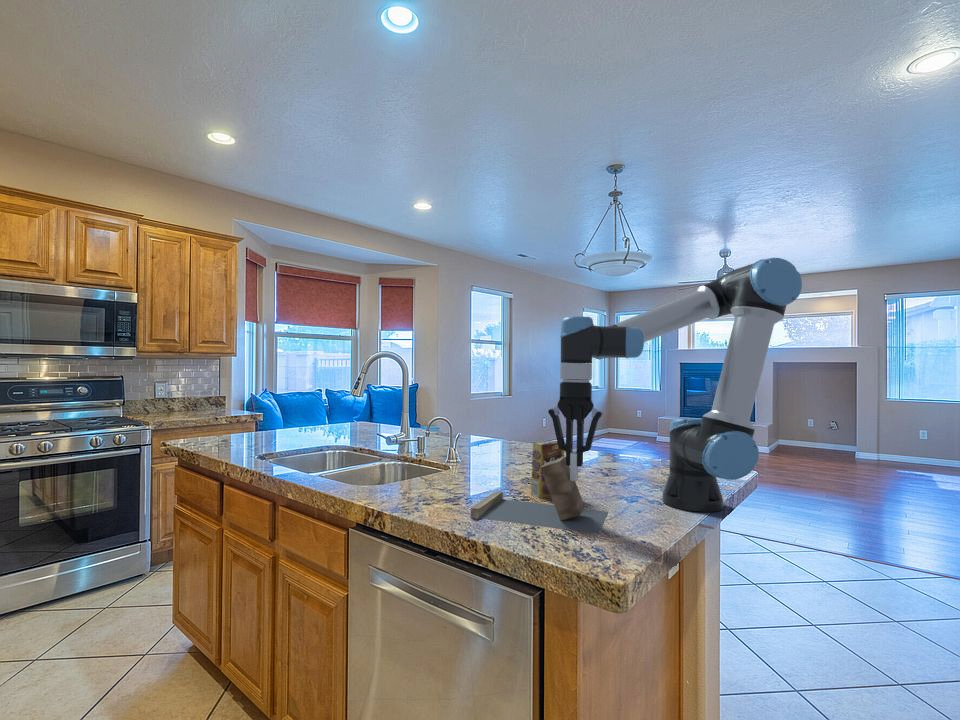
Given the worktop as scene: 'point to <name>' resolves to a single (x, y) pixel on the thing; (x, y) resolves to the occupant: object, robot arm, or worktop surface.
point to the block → (562, 489)
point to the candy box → (540, 457)
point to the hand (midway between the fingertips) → (574, 479)
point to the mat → (544, 516)
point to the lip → (486, 504)
